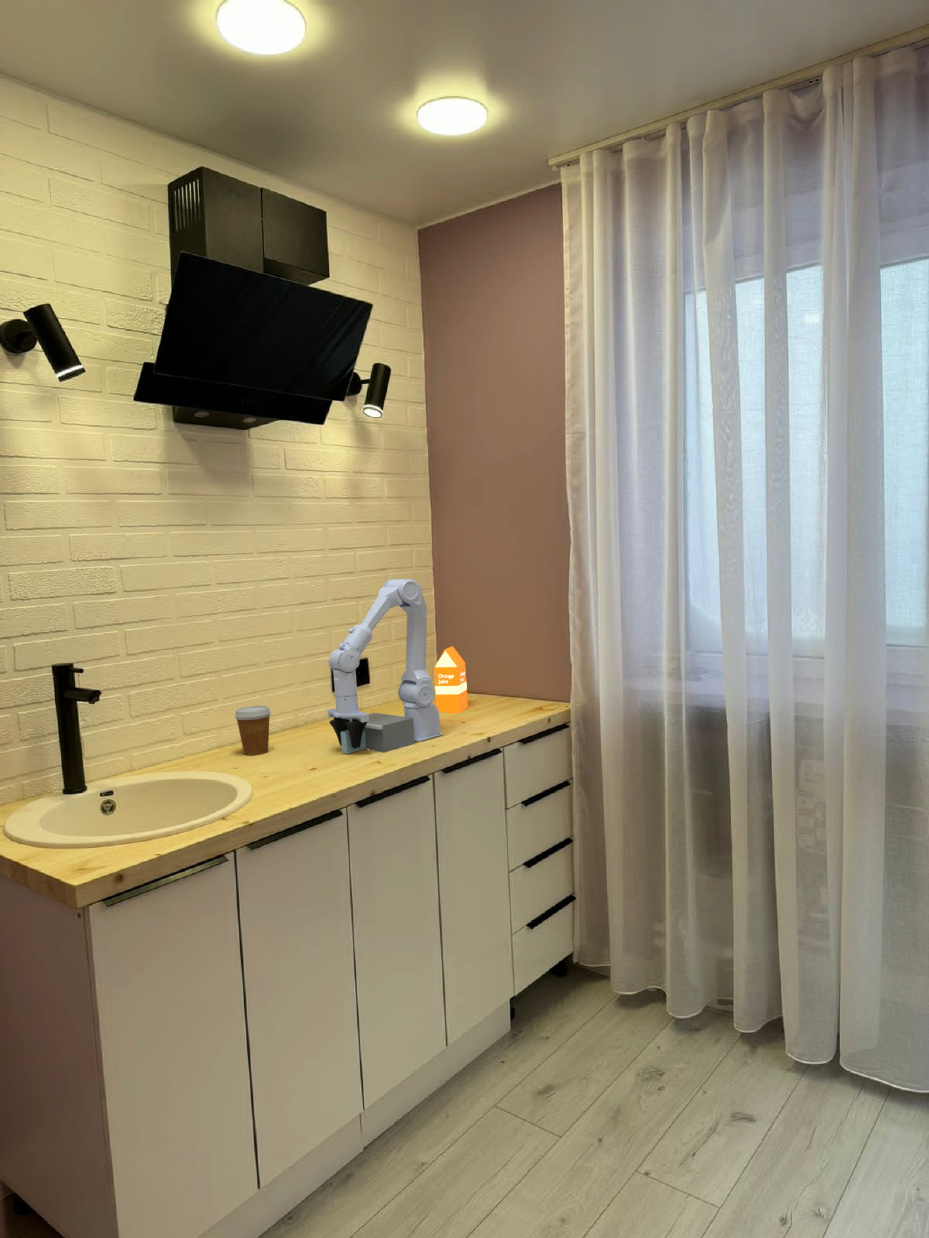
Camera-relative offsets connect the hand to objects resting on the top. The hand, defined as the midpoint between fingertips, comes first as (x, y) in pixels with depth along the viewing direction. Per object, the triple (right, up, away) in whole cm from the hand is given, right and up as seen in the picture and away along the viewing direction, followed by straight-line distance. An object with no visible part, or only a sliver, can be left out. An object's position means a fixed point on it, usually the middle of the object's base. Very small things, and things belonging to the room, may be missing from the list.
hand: (350, 746), depth 227 cm
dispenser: (+7, -1, +7) cm, 10 cm away
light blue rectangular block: (+3, -1, +4) cm, 5 cm away
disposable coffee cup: (-26, -3, +7) cm, 27 cm away
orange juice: (+26, +4, +49) cm, 56 cm away
